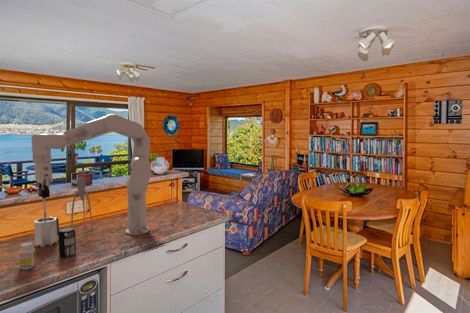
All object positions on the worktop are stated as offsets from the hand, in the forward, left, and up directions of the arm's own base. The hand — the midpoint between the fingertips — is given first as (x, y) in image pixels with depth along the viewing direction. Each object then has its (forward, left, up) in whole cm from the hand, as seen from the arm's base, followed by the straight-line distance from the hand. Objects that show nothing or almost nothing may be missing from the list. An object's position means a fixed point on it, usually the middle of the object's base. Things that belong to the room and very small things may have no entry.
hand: (44, 196), depth 141 cm
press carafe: (+1, -1, -24) cm, 24 cm away
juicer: (+9, -22, -24) cm, 34 cm away
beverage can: (-22, -2, -24) cm, 33 cm away
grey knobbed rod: (0, 0, -14) cm, 14 cm away
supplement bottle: (-22, +13, -24) cm, 35 cm away
